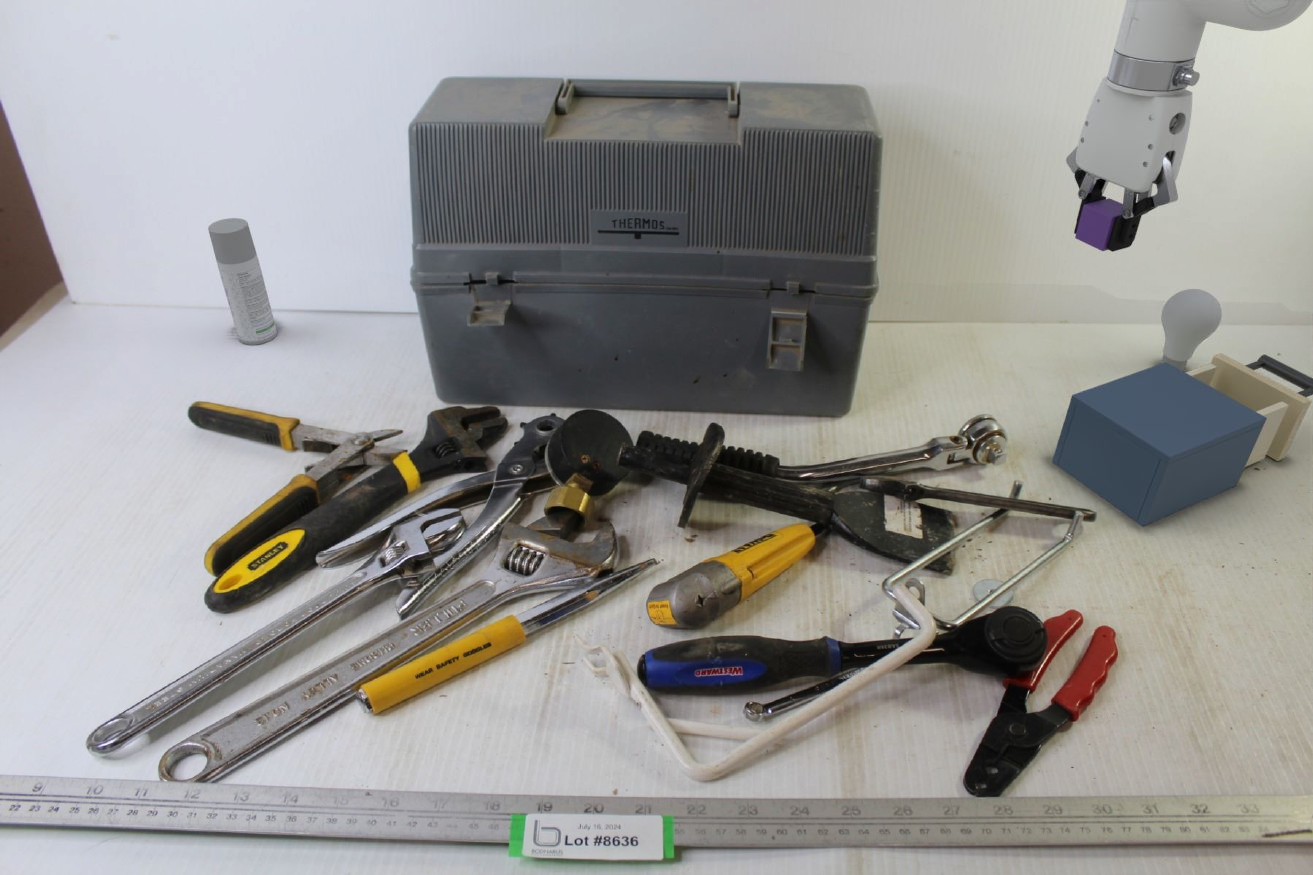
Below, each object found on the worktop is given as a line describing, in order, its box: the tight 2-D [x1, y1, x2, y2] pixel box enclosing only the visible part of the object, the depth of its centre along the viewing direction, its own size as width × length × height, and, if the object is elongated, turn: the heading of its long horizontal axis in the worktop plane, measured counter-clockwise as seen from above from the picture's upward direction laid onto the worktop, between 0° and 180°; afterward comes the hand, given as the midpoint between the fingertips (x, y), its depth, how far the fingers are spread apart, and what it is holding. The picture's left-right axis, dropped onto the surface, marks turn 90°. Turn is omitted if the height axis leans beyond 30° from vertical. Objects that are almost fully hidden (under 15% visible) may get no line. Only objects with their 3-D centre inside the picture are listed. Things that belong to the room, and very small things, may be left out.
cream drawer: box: [1185, 353, 1313, 468], centre depth 102 cm, size 18×10×7 cm, turn 118°
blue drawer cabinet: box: [1051, 362, 1267, 528], centre depth 97 cm, size 14×12×9 cm
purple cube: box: [1074, 197, 1123, 252], centre depth 107 cm, size 4×4×4 cm
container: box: [207, 217, 278, 346], centre depth 119 cm, size 5×5×15 cm
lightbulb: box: [1160, 288, 1223, 372], centre depth 113 cm, size 6×6×11 cm
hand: (1102, 238), depth 108 cm, fingers closed on purple cube, 4 cm apart
